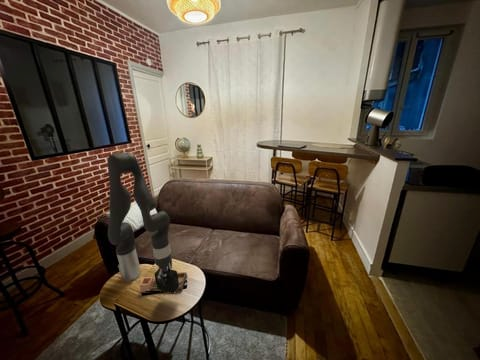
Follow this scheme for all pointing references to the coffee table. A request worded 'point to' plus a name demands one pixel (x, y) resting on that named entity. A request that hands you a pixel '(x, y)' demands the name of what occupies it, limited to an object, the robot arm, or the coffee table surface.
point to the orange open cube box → (146, 284)
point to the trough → (181, 278)
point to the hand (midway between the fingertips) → (167, 282)
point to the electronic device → (168, 281)
